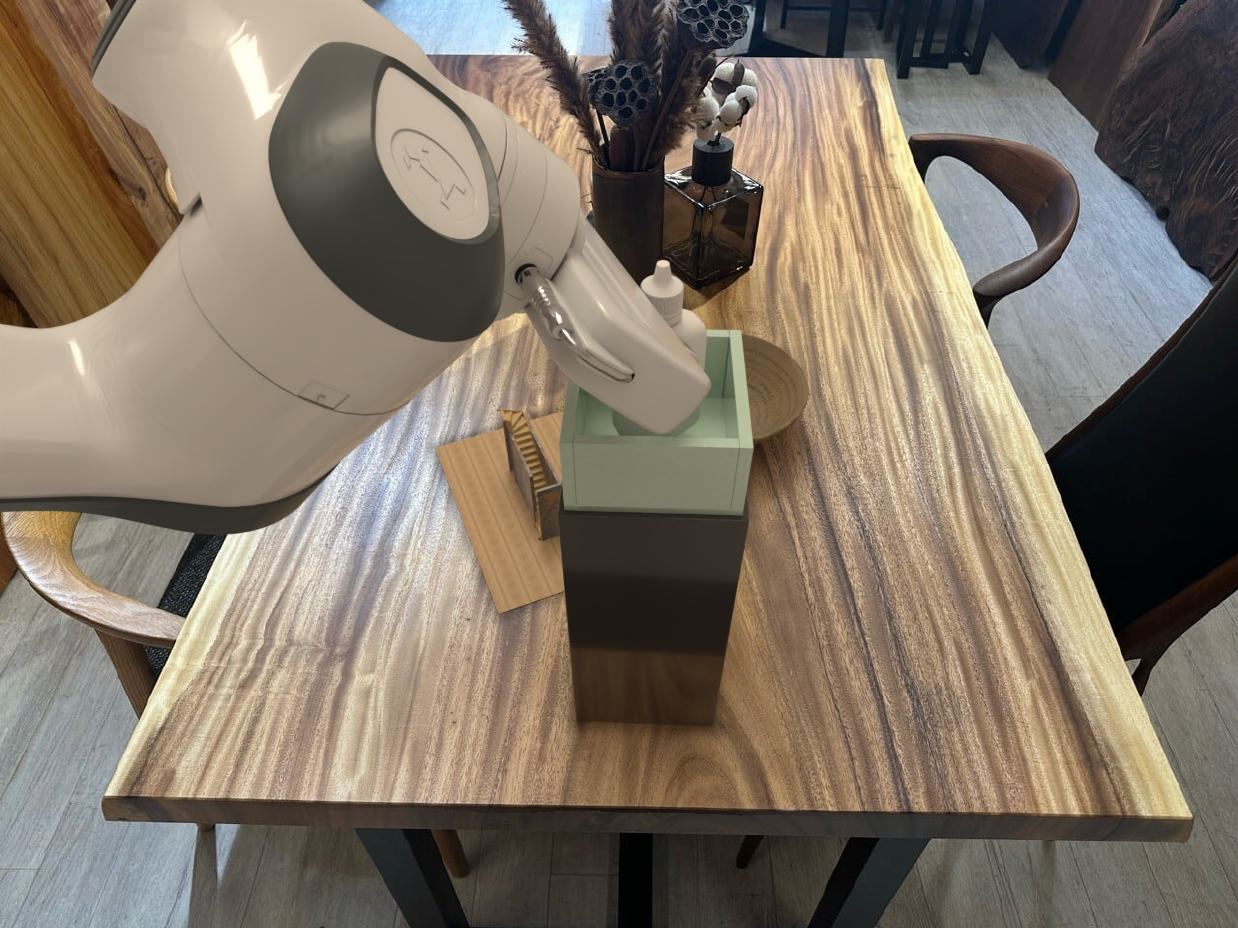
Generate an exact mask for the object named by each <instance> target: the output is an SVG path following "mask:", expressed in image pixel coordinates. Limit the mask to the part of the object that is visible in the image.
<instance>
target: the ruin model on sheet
mask: <svg viewBox="0 0 1238 928" xmlns="http://www.w3.org/2000/svg"><path fill="white" fill-rule="evenodd" d="M496 412H499V413H500V415H501V418H502V419H501V421H502V428H498V429H495V430H492V431H487V432H485V433H481V434H477V435H474V436H470V437H466V438H463V439H460V440H456V441H453V442H449V443H447V444H443V445H442V444H441V445H439V446H436V447H434V449H435V453H436V454H437V457H438V459H439V462H440V465H441V468H442V470H443V474H444V475H445V478H446V480H447V484H448V486H449V488H450V491H451V494H452V496H453V498H454V501H455V504H456V507H457V509H458V512H459V514H460V518H461V520H462V522H463V524H464V527H465V530H466V533H467V535H468V539H469V541H470V543H471V545H472V549H473V551H474V553H475V556H476V559H477V562H478V564H479V566H480V569H481V571H482V574H483V577H484V581H485V582H486V585H487V587H488V590H489V593H490V595H491V597H492V600H493V603H494V606H495V608H496V611H497V614H498V615H500V614H503V613H506V612H509V611H511V610H514V609H518V608H520V607H522V606H526V605H528V604H531V603H534V602H537V601H539V600H542V599H545V598H548V597H551V596H554V595H557V594H560V593H562V592H564V581H563V570H562V559H561V548H560V537H559V526H558V507H559V499H560V491H561V483H562V474H561V461H560V449H559V439H560V432H561V424H562V417H563V410H561V411H558V412H554V413H551V414H547V415H544V416H540V417H537V418H533V419H529V418H528V416H527V414H526V413H525V412H524V410H521V409H503V408H496Z"/></svg>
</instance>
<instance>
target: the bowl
mask: <svg viewBox="0 0 1238 928" xmlns="http://www.w3.org/2000/svg"><path fill="white" fill-rule="evenodd" d="M741 333H742V343H743V352H744V362H745V371H746V381H747V390H748V400H749V409H750V419H751V428H752V437H753V446H755V445H758V444H762V443H764V442H767V441H769V440H772V439H774V438H776V437H777V436H779V435H781V434H782V433H784V432H785V431H787V430H788V429H789V428H790V427H792V426H793V425H794V424H795V423H796V422H797V421H798V419H800V417H801V416H802V414H803V412H804V410H805V408H806V406H807V403H808V399H809V394H810V393H809V392H810V388H809V382H808V379H807V376H806V374H805V372H804V370H803V369H802V367H801V366H800V364H798V362H797V361H796V359H795V358H793V357H792V355H790V354H789V353H788V352H787V351H785V350H784V349H782V348H781V347H779V346H777V345H776V344H775V343H773V342H770V341H768V340H766V339H764V338H761V337H759V336H756V335H752V334H748V333H743V332H741Z"/></svg>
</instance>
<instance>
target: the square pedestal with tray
mask: <svg viewBox="0 0 1238 928" xmlns="http://www.w3.org/2000/svg"><path fill="white" fill-rule="evenodd" d="M706 331H707V342H706V356H705V367H704V372H705V373H706V374H707V376H708V377H709V379H710V382H711V388H710V391H709V392H708V394H707V395H706V396H705V398H704V399H703V400H702V401H701V409H700V416H699V419H698V421H697V422H696V423H695V424H694V425H693V426H692V427H691V428H689V429H688V430H686V431H685V432H683V433H681V434H679V435H677V436H675V437H661V436H622V435H619V434H618V432H617V431H616V429H615V427H614V426H613V419H612V408H611V407H609V406H608V405H606V404H605V403H603V402H601V401H600V400H598V399H597V398H595V397H594V396H592V395H591V394H589V393H588V392H586V391H585V390H584V389H582V388H581V387H580V386H578V385H577V384H576V383H575V382H573V381H572V380H571V379H570V378H569V377H568V376H567V381H566V387H565V393H564V394H565V395H564V402H563V409H562V411H563V417H562V424H561V432H560V439H559V449H560V461H561V474H562V483H561V491H560V499H559V507H558V526H559V537H560V548H561V559H562V570H563V581H564V591H563V592H564V603H565V612H566V613H565V614H566V623H567V634H568V636H567V637H568V646H569V657H570V658H569V659H570V669H571V678H572V690H573V691H572V692H573V700H574V711H575V721H576V722H586V723H587V722H588V723H610V724H611V723H613V724H614V723H615V724H641V725H645V724H646V725H665V726H666V725H667V726H695V727H696V726H697V727H713V726H714V724H715V717H716V712H717V706H718V701H719V695H720V690H721V683H722V678H723V672H724V667H725V662H726V661H725V660H726V656H727V650H728V644H729V639H730V632H731V627H732V623H733V622H732V621H733V616H734V609H735V604H736V598H737V593H738V588H739V582H740V577H741V571H742V564H743V559H744V553H745V547H746V542H747V537H748V530H749V525H750V514H749V503H748V492H747V490H748V485H749V479H750V472H751V468H752V467H751V466H752V460H753V454H754V448H755V447H754V445H753V437H752V428H751V419H750V409H749V400H748V390H747V381H746V371H745V362H744V352H743V343H742V333H743V332H742V330H741V329H708V328H706Z"/></svg>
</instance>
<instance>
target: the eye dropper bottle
mask: <svg viewBox="0 0 1238 928" xmlns="http://www.w3.org/2000/svg"><path fill="white" fill-rule="evenodd" d="M671 269H672V268H671V264H670V262H669V261H668V260H665V259H661V260H658V261H657V262H656V265H655V269H654V272H653V274H652V275H649V276H647V277H646V278H644V279H643V280H642V281H641V282H640V289H641V290H642V292H643V293H644V294H645V295H646V297H647V298H648V299H649V301H650V302H651V303H652V304H653V306H654V307H655V308H656V310H657V311H658V312H659V314H660V315H661V316H662V317H663V319H664V320H665V321H666V323H667V324H668V325H669V327H670V328H671V329H672V330H673V332H674V333H675V334H676V336H677V337H678V338H679V339H681V340H682V341H683V342H685V343H687V344H688V345H689V347H690V348H691V349H692V350H693V352H694V353H695V354H696V355H697V357H698V358H699V363H698V364H699V365H700V367H701V368H702V369H703V371H704V367H705V356H706V342H707V331H706V329H707V328H706V325H705V323H704V322H703V321H702V319H701V318H700V317H699V316H698V315H697V314H696V313H694V311H692V310H689V309H686V308H683V306H684V305H683V304H684V292H685V286H684V283H683V282H682V280H681V279H680V278H679V277H677V276H675V275H672V270H671ZM700 409H701V402H700V404H699V405H698V406H697V407H696V408H695V410H694V411H693V412H692V413H691V414H690V415H689V416H688V417H687V418H686V419H685V420H684V421H683V422H682V423H680V424H679V425H678V426H677V427H676V428H675V429H673V430H672V431H670V432H668V433H666V434H656V433H653V432H651V431H649V430H647V429H646V428H644V427H642V426H640V425H639V424H637V423H635V422H634V421H632V420H630V419H629V418H627V417H625V416H624V415H622V414H620V413H619V412H617V411H616V410H614V409H612V419H613V426H614V427H615V429H616V431H617V432H618V434H619V435H622V436H661V437H675V436H677V435H679V434H681V433H683V432H685V431H686V430H688V429H689V428H691V427H692V426H693V425H694V424H695V423H696V422H697V421H698V419H699V416H700Z"/></svg>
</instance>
